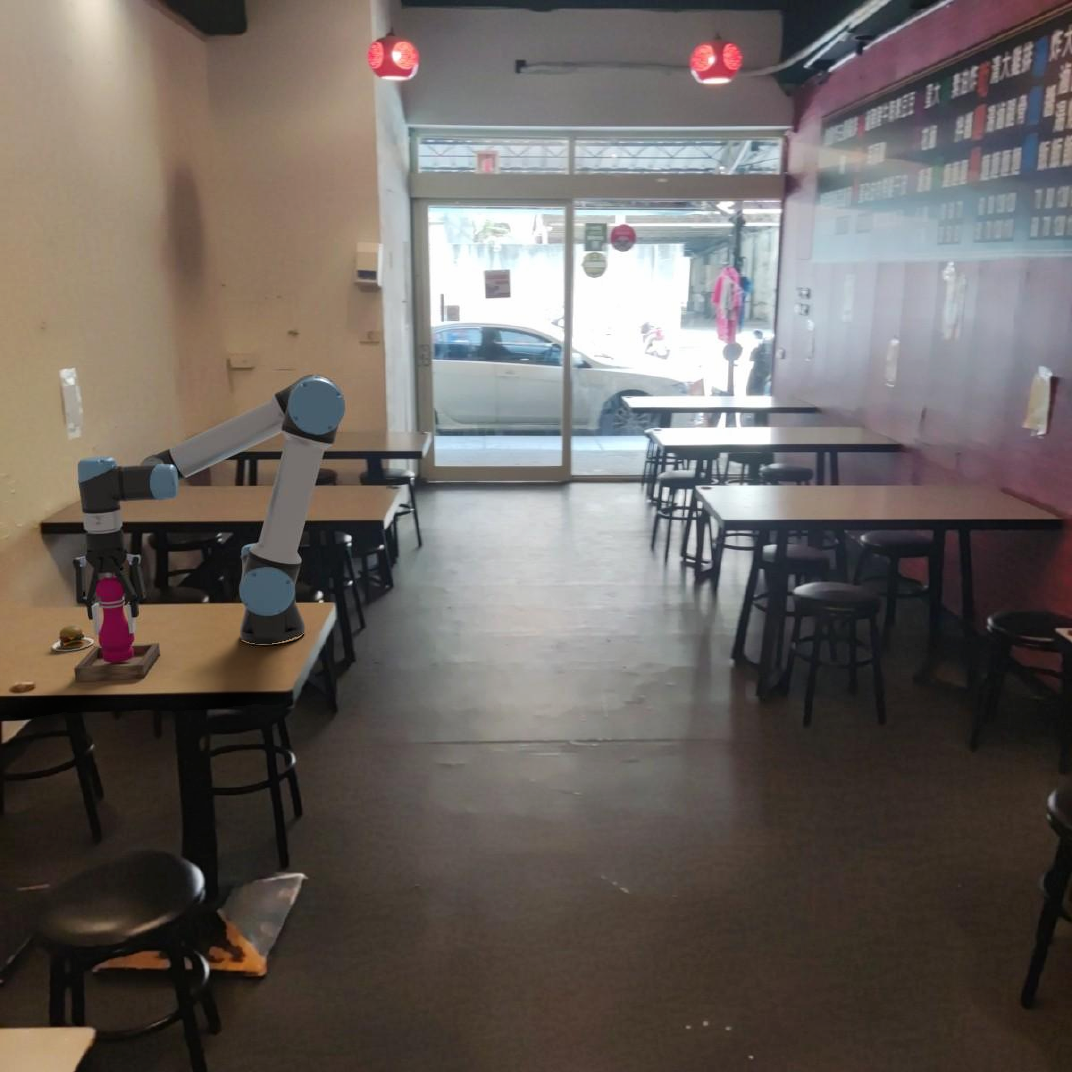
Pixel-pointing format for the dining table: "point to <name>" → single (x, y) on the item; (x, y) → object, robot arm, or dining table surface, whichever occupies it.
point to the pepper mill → (114, 621)
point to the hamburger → (71, 638)
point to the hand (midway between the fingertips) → (115, 632)
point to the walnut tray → (117, 664)
